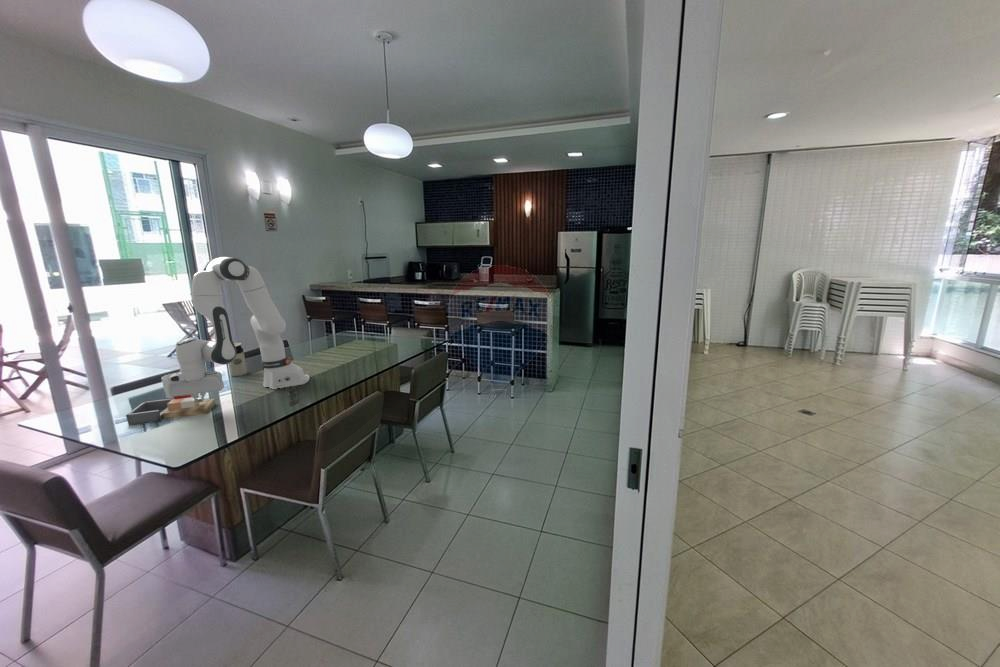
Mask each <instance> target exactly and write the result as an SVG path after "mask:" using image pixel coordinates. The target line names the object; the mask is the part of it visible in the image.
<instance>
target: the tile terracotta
mask: <svg viewBox="0 0 1000 667" xmlns="http://www.w3.org/2000/svg"><path fill="white" fill-rule="evenodd" d="M184 399H185V398H182V399H173V400H171V401H170V402H169V403H168V404H167V407H168V410H174V409H182V407H181V403H180V402H181V401H182V400H184Z"/></svg>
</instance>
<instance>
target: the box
mask: <svg viewBox="0 0 1000 667" xmlns="http://www.w3.org/2000/svg"><path fill="white" fill-rule="evenodd" d="M171 400H174V399H173V398H172V399H169V398H165V399H157V400H149V401H143V402H141V403H140V404H139V405H137V406H136V407H135V408H133V409H132V410H130V411H129V412H128V413H126V414H125V417H126V422H127V425H128V426H129V427H130V426H138V425H144V424H153V423H159V422H162V421H163V420H164V417H163V414H162V413H164V412H165V411H166V410H167V409H168V407H167V404H168V403H169V402H170V401H171Z"/></svg>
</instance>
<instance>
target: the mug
mask: <svg viewBox="0 0 1000 667" xmlns="http://www.w3.org/2000/svg"><path fill="white" fill-rule="evenodd" d="M174 373H175V372H173V373H172V372H171V373H168V374H164V375H163V376H161V383H162V386H163V390H164V394H165V397H166V399H172V398H173V400H174V397H172V396H170V395H169V392H168V384H169V383H170V382H169V381H168V378H169V377H170V376H171V375H173V374H174Z"/></svg>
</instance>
